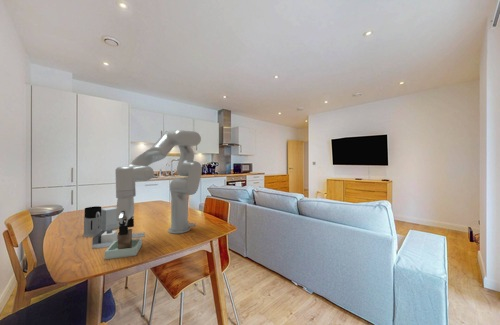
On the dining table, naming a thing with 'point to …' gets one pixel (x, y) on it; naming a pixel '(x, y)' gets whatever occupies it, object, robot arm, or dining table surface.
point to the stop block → (125, 240)
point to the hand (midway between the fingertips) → (127, 230)
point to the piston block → (109, 236)
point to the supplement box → (109, 218)
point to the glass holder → (92, 221)
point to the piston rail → (97, 242)
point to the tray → (123, 250)
